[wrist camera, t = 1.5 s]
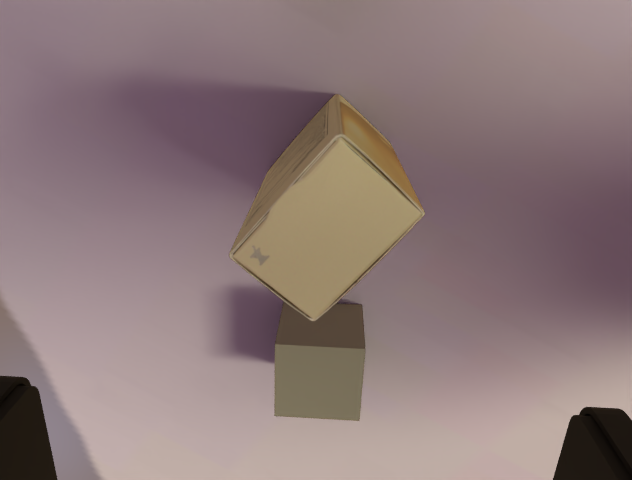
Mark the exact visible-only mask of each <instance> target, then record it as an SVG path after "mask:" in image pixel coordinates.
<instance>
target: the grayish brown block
mask: <svg viewBox="0 0 632 480" xmlns="http://www.w3.org/2000/svg"><path fill="white" fill-rule="evenodd" d="M364 360H365V337H364V324H363V311H362V305H359V304H340V303H336V304H335V305H333V306H332V307H331V308H330V309H329V310H328V311H327V312H326V313H324V314H323V315H322V316H321V317H320V318H318V319H317V320H316V321H311V320H309V319H308V318H306V317H305V316H304V315H302V314H301V313H300V312H298V311H297V310H295V309H294V308H292V307H291V306H290V305H288V304H287V303H286V302H283V307H282V312H281V317H280V322H279V327H278V331H277V336H276V341H275V416H284V417H302V418H319V419H336V420H354V421H359V419H360V408H361V396H362V384H363V372H364Z"/></svg>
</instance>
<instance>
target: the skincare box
mask: <svg viewBox="0 0 632 480" xmlns="http://www.w3.org/2000/svg"><path fill="white" fill-rule="evenodd" d="M424 214H425V212H424V210H423V208H422V206H421V204H420V202H419V200H418V198H417V196H416V194H415V192H414V190H413V188H412V186H411V184H410V182H409V180H408V178H407V176H406V174H405V172H404V170H403V167H402V165H401V163H400V162H399V160H398V158H397V156H396V154H395V152H394V149H393V147H392V145H391V144H390V142H389V141H388V140H387V139H386V138H385V137H384V136H383V135H382V134H381V133H380V132H379V131H378V130H377V129H376V128H375V127H374V126H373V125H372V124H371V123H370V122H368V121H367V120H366V119H365V118H364V117H363V116H362V115H361V114H360V113H359V112H358V111H357V110H356V109H355V108H354V107H353V106H352V105H351V104H349V103H348V102H347V101H346V100H345V99H344V98H343V97H342V96H341V95H338V94H336V95H334V96H333V97H332V98H331V99H330V100H329V101H328V102H327V103H326V104H325V105H324V106H323V108H322V109H321V110H320V111H319V112H318V113H317V114H316V115H315V116H314V117H313V119H312V120H311V121H310V122H309V123H308V124H307V125H306V126H305V128H304V129H303V130H302V131H301V132H300V133H299V135H298V136H297V137H296V138H295V139H294V140H293V142H292V143H291V144H290V145H289V146H288V147H287V149H286V150H285V151H284V152H283V153H282V155H281V156H280V157H279V158H278V159H277V161H276V162H275V163H274V164H273V166H272V167H271V168H270V169H269V171H268V172H267V174H266V176H265V178H264V180H263V182H262V185H261V187H260V189H259V191H258V193H257V196H256V198H255V200H254V202H253V204H252V206H251V208H250V210H249V213H248V215H247V217H246V219H245V221H244V223H243V225H242V227H241V229H240V232H239V234H238V236H237V238H236V240H235V242H234V245H233V247H232V249H231V251H230V253H229V257H230V258H231V259H232V260H233V261H234V262H236V263H237V264H238V265H239V266H241V267H242V268H243V269H244V270H245V271H247V272H248V273H249V274H250V275H252V276H253V277H254V278H255V279H257V280H258V281H259V282H260V283H261V284H263V285H264V286H265V287H267V288H268V289H269V290H270V291H272V292H273V293H274V294H275V295H277V296H278V297H279V298H280V299H282V300H283V301H284V302H286V303H287V304H288V305H290V306H291V307H292V308H294V309H295V310H297V311H298V312H300V313H301V314H302V315H304V316H305V317H306V318H308V319H309V320H311V321H316V320H317V319H318V318H320V317H321V316H322V315H323V314H324V313H326V312H327V311H328V310H329V309H330V308H331V307H332V306H333V305H335V304H336V303H337V302H338V301H339V300H340V299H341V298H342V297H343V296H345V295H346V294H347V293H348V292H349V291H350V290H351V289H352V288H353V287H354V286H355V285H356V284H357V283H358V282H359V281H360V280H361V279H362V278H363V277H364V276H365V275H366V274H367V273H368V272H369V271H370V270H371V269H372V268H373V267H374V266H375V265H376V264H377V263H378V262H380V261H381V260H382V259H383V258H384V256H385V255H386V254H387V253H388V252H389V251H390V250H391V249H392V248H393V247H394V246H395V245H396V244H397V243H398V242H399V241H400V240H401V239H402V238H403V237H404V236H405V235H406V234H407V233H408V232H409V231H410V230H411V229H412V227H413V226H414V225H415V224H416V223H417V222H418V221H419V220H420V219H421V218H422V217H423V216H424Z"/></svg>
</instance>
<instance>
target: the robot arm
mask: <svg viewBox="0 0 632 480" xmlns="http://www.w3.org/2000/svg"><path fill="white" fill-rule="evenodd" d="M0 480H57V476H56V471H55V466H54V461H53V456H52V451H51V447H50V442H49V437H48V432H47V428H46V423H45V419H44V414H43V409H42V404H41V399H40V394H39V391H38V389H37V388H36V387H34V386H31V384H30V382H29V380H28V379H27V378H24V377H11V376H0ZM553 480H632V420H631V419H630V418H629V416H628V415H627V414H626V413H625V412H624V411H623V410H621V409H616V408H597V407H585V408H583V409H582V410H581V412H580V414H579V415H573V416H572V417H571V419H570V422H569V425H568V429H567V432H566V436H565V439H564V443H563V446H562V450H561V453H560V457H559V460H558V464H557V467H556V471H555V474H554V478H553Z"/></svg>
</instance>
